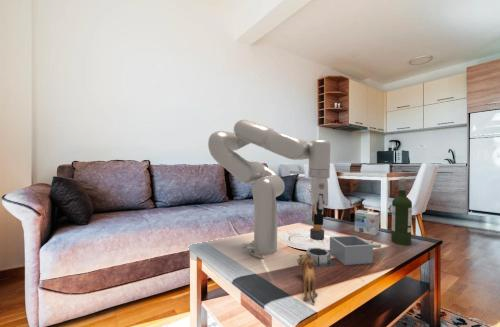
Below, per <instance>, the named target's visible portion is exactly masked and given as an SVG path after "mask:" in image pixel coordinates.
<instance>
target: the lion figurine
mask: <svg viewBox="0 0 500 327" xmlns="http://www.w3.org/2000/svg"><path fill="white" fill-rule="evenodd" d="M301 255H302V257H300V256H299V258H297V259H296V261H297V265H299V266H301V270H302V279H303V280H302V281H303V295H304V297H303V301H305V302H307V301H308V300H309V299H308V295H309V298H310V300H311V303H312V304H316V302H315V300H314V298H313V297H315V298H316V297H318V293H317V292H316V285H317V283H316V277H315V275H316V273H315V272H316V267H315V264H314V263H313V260H312V259H311V257H310V256H309V255H308V254H306V252H304V253H302V254H301ZM311 289H312V292H311Z"/></svg>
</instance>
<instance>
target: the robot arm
mask: <svg viewBox="0 0 500 327" xmlns="http://www.w3.org/2000/svg"><path fill="white" fill-rule="evenodd" d="M249 144H253V145H255V146H257V147H260V148H263V149H265V150H268V151H269V152H271V153H274V154H277V155H278V156H281V157H284V158H287V159H289V160H294V161H296V160H297V161H301V160H303V161H304V160H308V178H310V201H311V204H312V211H311V214H312V215H311V221H312V222H313V218H314V225H322V226H323V225H324V206H325V207H328V206H329V183H328V179H330V174H331V172H330V171H331V166H330V165H331V142H330V141H329V140H326V139H325V140H324V139H314V140H311V141H308V140H303V139H298V138H294V137H291V136H288V135H286V134H282V133H280V132H277V131H275V130H274V129H273V128H271V127H269V126H266V125H262V124H259V123H256V122H255V121H251V120H247V119H240V120H238V121H237V122H235V124H234V126H233V132H229V131H224V130H223V131H222V130H220V131H219V130H218V131H215V132H213V133H212V134H210V136H209V137H208V143H207V146H208V151H209V153H210V156H211V157H212V158H213V159H214V161H216V163H218V164H219V165H220V166H222V167H223V168H224V169H225V170H226V171H227V172H229V173H230V175H232V176H233V177H235V178H236V179H237V180H238V181H240V182H241V183H242V184H246V185H249V184H250V185H251V184H253V185H252V190H251V191H252V192H251V193H252V198H253V217H254V218H253V219H254V220H253V240H252V241H251V242H249V243H242V249H246V251H249V252H250V255H251V256H253V257H254V258H257V259H262V260H263V259H264V258H263V256H262V255H272V254H275V253H277V251H278V205H277V199H276V198H277V197H279V196H281V195H282V194H283V193H284V191H285V188H286V187H285V186H286V185H285V182H284V180H283V179H282V178H281V177H280V176H279V175H278V174H277V173H276V172H274V171H273V170H272V169H270V168H269V167H267V166H266V165H265V164H263V163H261V162H258V161H249V160H247V159H245V158H244V157H242V156H241V155H240V154H239V153H237V152H235V151H238V150H239V149H241V148H244V147H246V146H248V145H249ZM317 204H319V205H317ZM314 205H315V213H314ZM317 207H319V208H317Z"/></svg>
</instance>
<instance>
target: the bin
mask: <svg viewBox="0 0 500 327" xmlns="http://www.w3.org/2000/svg"><path fill="white" fill-rule="evenodd" d="M366 241H367V240H365V239H363V238H361V237H359V236H357V235H342V236H341V235H340V236H330V237H329V252H330V256H331V255H332V256H333V258H335V259H337V260H338V261H339V262H340V263H342V264H343V265H344V266H351V265H352V266H353V265H364V264H373V263H374V262H373V260H374V258H373V257H374V248H373V245H372V244H370V243H368V242H366Z"/></svg>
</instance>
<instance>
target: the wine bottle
mask: <svg viewBox="0 0 500 327" xmlns="http://www.w3.org/2000/svg"><path fill="white" fill-rule="evenodd" d="M406 181H407V179H406V178H402V177H400V178H399V179H398V194H397V196H396V197H395V198H393V200H392V201H391V240H390V241H391V242H392V243H393V244H396V245H397V244H398V245H402V246H409V245H411V244H412V221H413V220H412V218H413V217H412V216H413V215H412V214H413V211H412V210H413V202H412V200H411V199H409V197H408V196H407V190H406V189H407V188H406V187H407V186H406Z"/></svg>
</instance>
